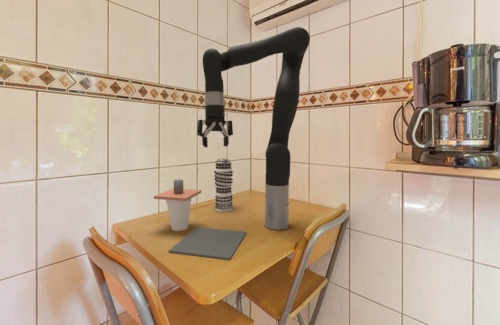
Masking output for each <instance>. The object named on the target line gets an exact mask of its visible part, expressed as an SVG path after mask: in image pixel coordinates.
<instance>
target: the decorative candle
mask: <svg viewBox="0 0 500 325" xmlns="http://www.w3.org/2000/svg"><path fill="white" fill-rule="evenodd" d="M213 173H214V175H213V176H214V181H215V182H214V184H215V186H214V187H215V196H214V197H215V198H214V199H215V203H214V204H215V206H214V207H215V211H217V212H221V213H225V212H230V211H232V210H233V194H232V187H233V183H234V182H233V180H234V179H233V178H232V177H233V176H234V174H233V173H234V171H233V170H232V161H231V160H230V158H218V159H217V160H216V161H215V170H214V171H213Z"/></svg>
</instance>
